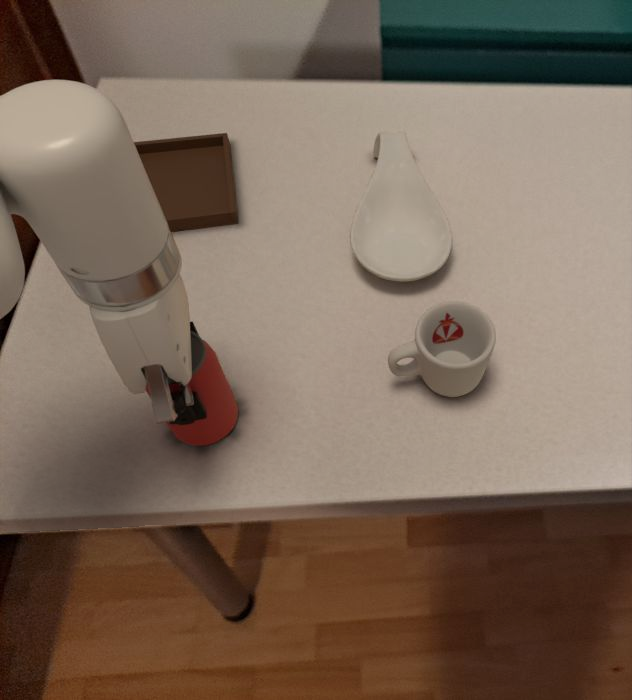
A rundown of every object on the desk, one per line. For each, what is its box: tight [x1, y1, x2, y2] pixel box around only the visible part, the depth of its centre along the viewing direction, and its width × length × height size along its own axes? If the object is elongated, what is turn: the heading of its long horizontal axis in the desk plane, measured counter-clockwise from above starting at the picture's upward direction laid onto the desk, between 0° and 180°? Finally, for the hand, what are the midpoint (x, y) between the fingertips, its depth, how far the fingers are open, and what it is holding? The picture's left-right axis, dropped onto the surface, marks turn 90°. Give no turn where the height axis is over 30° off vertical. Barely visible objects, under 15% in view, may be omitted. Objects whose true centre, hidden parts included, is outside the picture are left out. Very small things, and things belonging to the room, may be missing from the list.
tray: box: [133, 132, 239, 233], centre depth 85 cm, size 12×14×2 cm
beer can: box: [145, 330, 239, 447], centre depth 64 cm, size 7×7×12 cm
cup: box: [387, 300, 497, 398], centre depth 70 cm, size 11×8×8 cm
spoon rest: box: [349, 131, 453, 282], centre depth 82 cm, size 24×12×7 cm, turn 8°
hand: (187, 382), depth 63 cm, fingers closed on beer can, 6 cm apart
